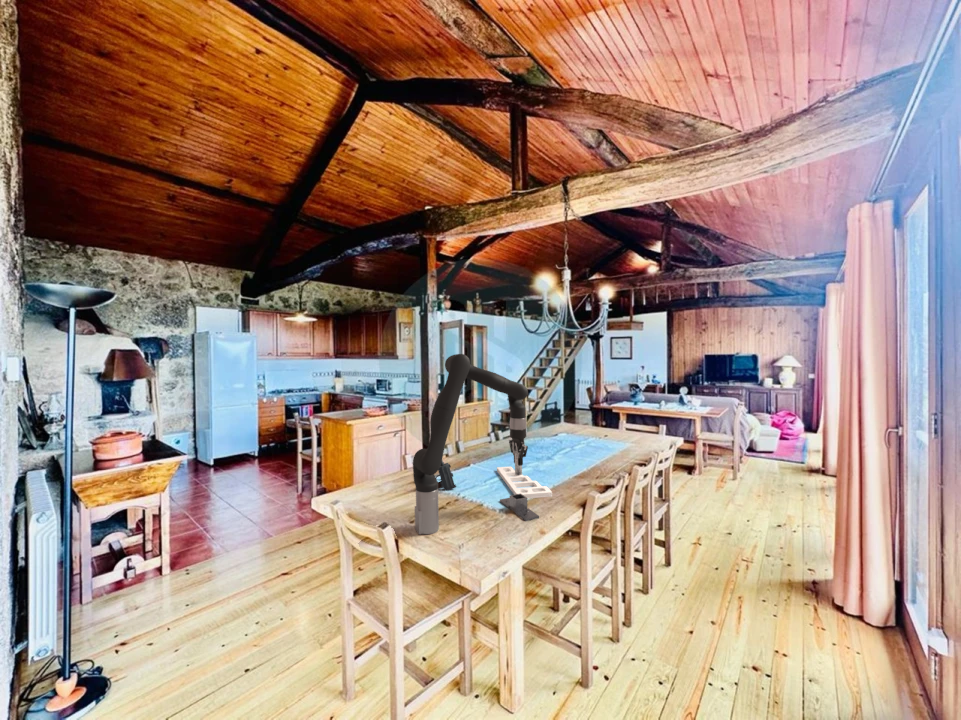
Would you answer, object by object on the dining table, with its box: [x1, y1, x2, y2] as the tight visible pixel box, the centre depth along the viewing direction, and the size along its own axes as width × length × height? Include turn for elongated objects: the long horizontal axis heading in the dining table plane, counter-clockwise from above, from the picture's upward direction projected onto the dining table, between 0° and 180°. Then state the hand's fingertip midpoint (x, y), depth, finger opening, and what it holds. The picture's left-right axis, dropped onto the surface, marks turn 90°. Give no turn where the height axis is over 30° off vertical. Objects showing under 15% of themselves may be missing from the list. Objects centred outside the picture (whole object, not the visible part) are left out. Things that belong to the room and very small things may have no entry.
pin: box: [514, 450, 523, 475], centre depth 187 cm, size 3×3×11 cm
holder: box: [496, 466, 553, 500], centre depth 224 cm, size 45×18×3 cm, turn 11°
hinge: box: [499, 494, 540, 522], centre depth 188 cm, size 7×24×6 cm, turn 25°
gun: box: [435, 460, 457, 492], centre depth 213 cm, size 3×17×15 cm
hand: (518, 464), depth 187 cm, fingers closed on pin, 3 cm apart
